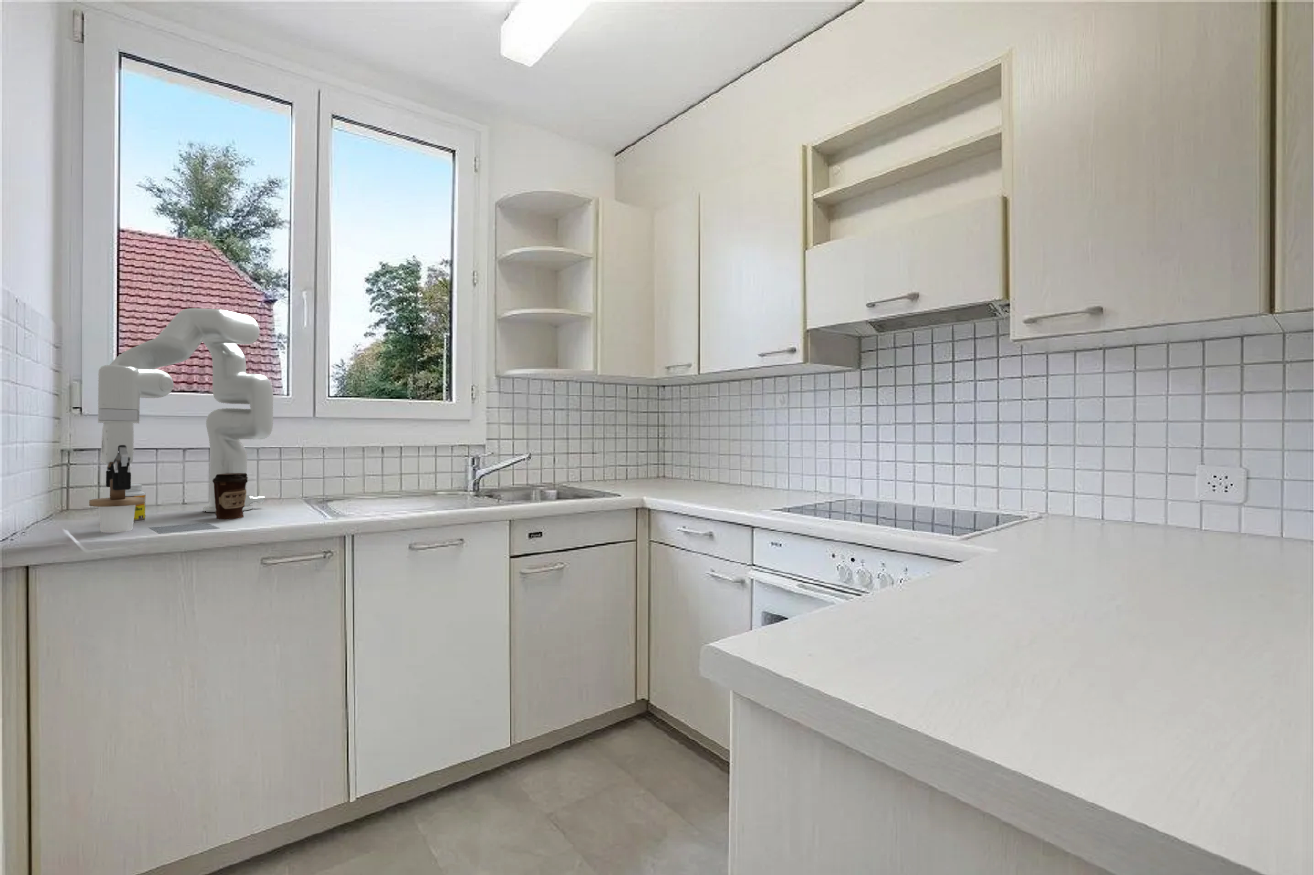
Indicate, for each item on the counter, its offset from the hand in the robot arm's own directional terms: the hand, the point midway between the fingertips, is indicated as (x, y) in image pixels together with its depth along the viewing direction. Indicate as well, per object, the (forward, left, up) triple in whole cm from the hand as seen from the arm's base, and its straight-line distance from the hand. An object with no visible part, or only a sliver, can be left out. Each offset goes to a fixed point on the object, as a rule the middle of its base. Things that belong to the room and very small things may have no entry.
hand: (118, 488), depth 148 cm
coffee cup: (-25, -8, -11) cm, 28 cm away
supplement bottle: (-5, -17, -11) cm, 21 cm away
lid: (0, 0, -4) cm, 4 cm away
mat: (-12, +5, -11) cm, 17 cm away
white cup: (0, 0, -11) cm, 11 cm away
